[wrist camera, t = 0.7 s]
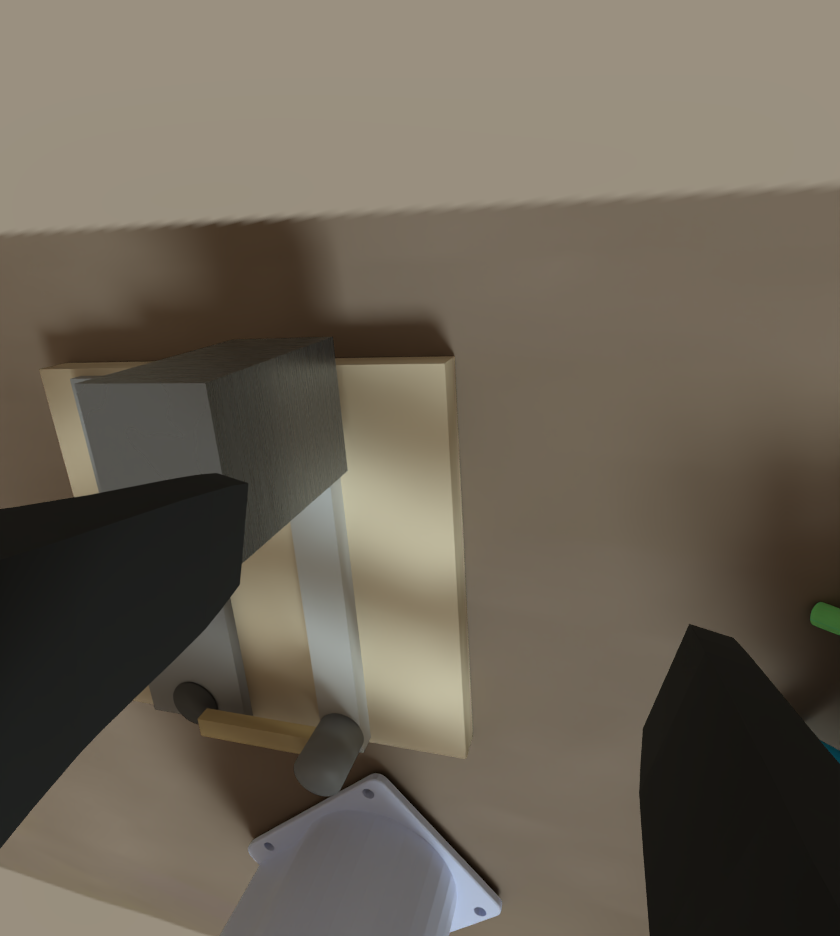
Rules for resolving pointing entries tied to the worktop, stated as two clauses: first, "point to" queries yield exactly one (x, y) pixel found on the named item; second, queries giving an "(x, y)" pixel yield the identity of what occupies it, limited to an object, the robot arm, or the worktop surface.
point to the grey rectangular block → (225, 424)
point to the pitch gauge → (335, 587)
